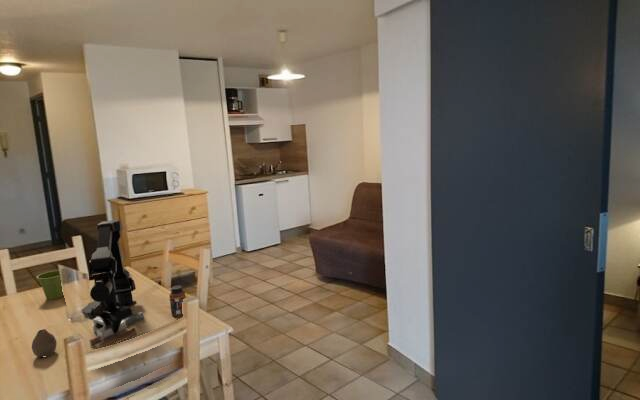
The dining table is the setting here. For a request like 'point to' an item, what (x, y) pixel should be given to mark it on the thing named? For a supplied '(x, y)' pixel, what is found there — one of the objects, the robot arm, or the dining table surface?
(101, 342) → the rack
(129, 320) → the socket
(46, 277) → the plant pot
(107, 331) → the bar
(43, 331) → the vase
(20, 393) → the dining table surface
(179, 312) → the supplement bottle
